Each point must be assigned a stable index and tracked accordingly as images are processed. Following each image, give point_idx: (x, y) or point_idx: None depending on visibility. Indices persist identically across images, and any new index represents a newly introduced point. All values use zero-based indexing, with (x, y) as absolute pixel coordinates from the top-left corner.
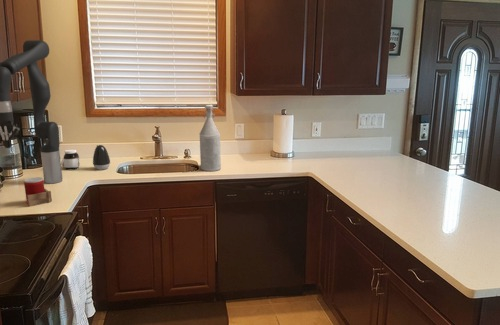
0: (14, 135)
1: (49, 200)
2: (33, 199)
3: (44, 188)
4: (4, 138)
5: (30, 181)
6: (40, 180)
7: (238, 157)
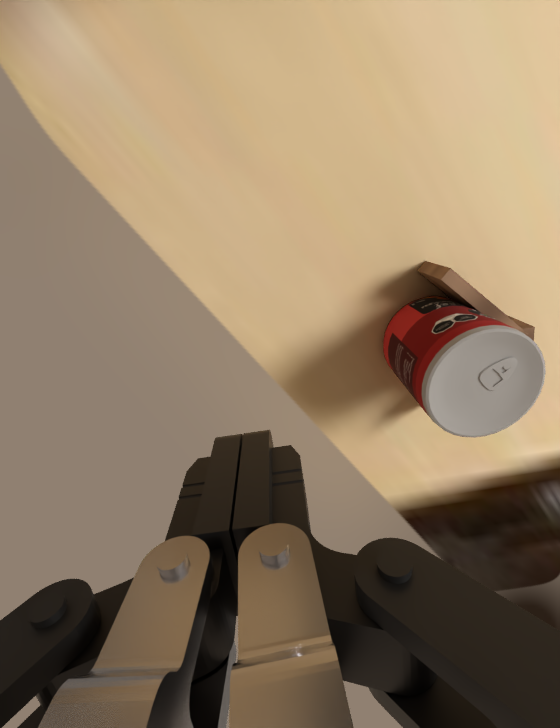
0: (465, 633)
1: None
2: None
3: (470, 285)
4: (225, 670)
5: (492, 433)
6: (538, 388)
7: None
